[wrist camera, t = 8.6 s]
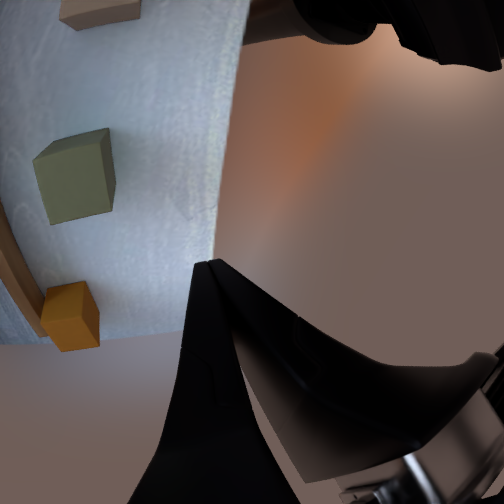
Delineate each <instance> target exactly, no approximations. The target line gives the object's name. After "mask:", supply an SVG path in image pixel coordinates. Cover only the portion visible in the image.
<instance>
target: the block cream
mask: <svg viewBox="0 0 504 504" xmlns="http://www.w3.org/2000/svg"><path fill="white" fill-rule="evenodd" d="M141 1H142V0H61V6H60V15H59V20H60V21H62V22H63V23H65V24H66V25H68V26H69V27H71V28H72V29H74V30H76V31H79V30H83V29H87V28H91V27H95V26H100V25H104V24H110V23H115V22H121V21H127V20H134V19H140V13H141Z"/></svg>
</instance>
